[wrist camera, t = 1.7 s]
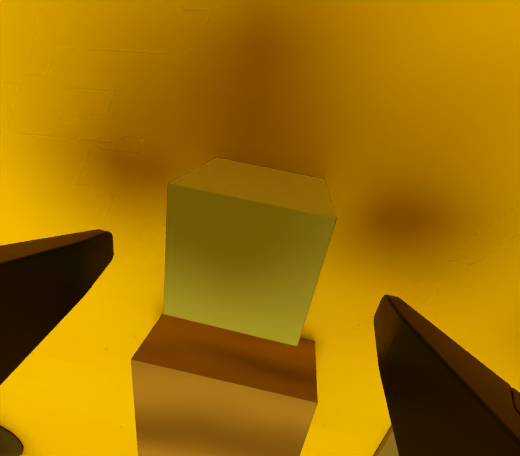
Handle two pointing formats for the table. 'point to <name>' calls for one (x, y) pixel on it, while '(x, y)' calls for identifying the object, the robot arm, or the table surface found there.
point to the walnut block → (221, 392)
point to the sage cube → (245, 247)
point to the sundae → (9, 444)
